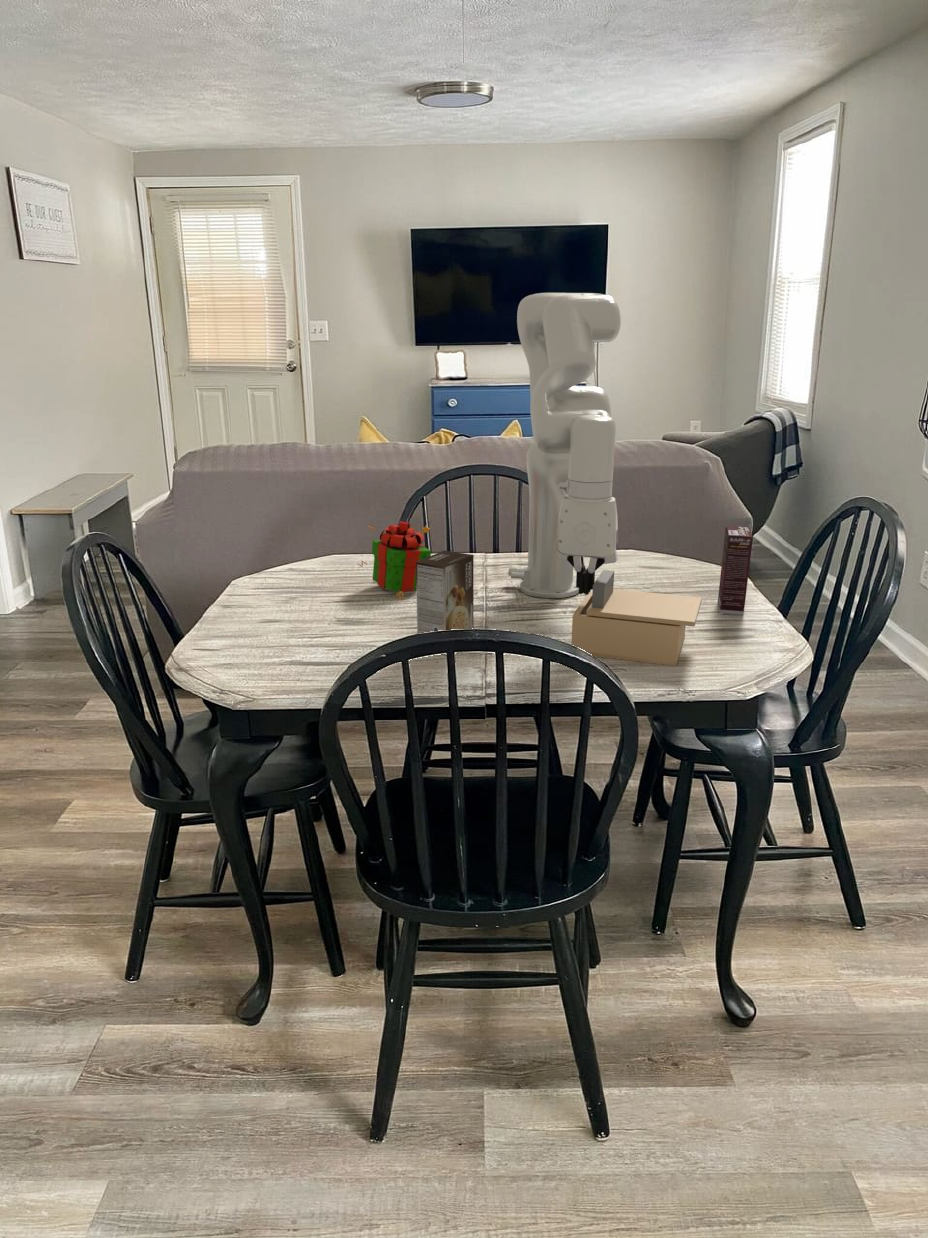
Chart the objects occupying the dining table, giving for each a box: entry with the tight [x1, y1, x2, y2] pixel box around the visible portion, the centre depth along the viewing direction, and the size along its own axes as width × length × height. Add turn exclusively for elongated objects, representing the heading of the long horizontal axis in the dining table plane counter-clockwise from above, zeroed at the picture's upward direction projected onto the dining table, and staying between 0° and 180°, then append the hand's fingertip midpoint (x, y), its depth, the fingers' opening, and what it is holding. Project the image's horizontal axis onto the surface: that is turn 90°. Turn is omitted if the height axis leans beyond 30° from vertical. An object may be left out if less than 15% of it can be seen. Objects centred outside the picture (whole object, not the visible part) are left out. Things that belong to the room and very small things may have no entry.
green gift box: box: [357, 521, 432, 599], centre depth 197 cm, size 20×19×14 cm
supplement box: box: [717, 525, 754, 616], centre depth 183 cm, size 9×5×16 cm, turn 168°
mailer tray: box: [570, 591, 687, 667], centre depth 164 cm, size 18×14×7 cm
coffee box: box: [415, 550, 475, 634], centre depth 162 cm, size 9×6×16 cm
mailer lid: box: [586, 569, 703, 627], centre depth 161 cm, size 18×14×5 cm
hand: (584, 592), depth 164 cm, fingers closed
